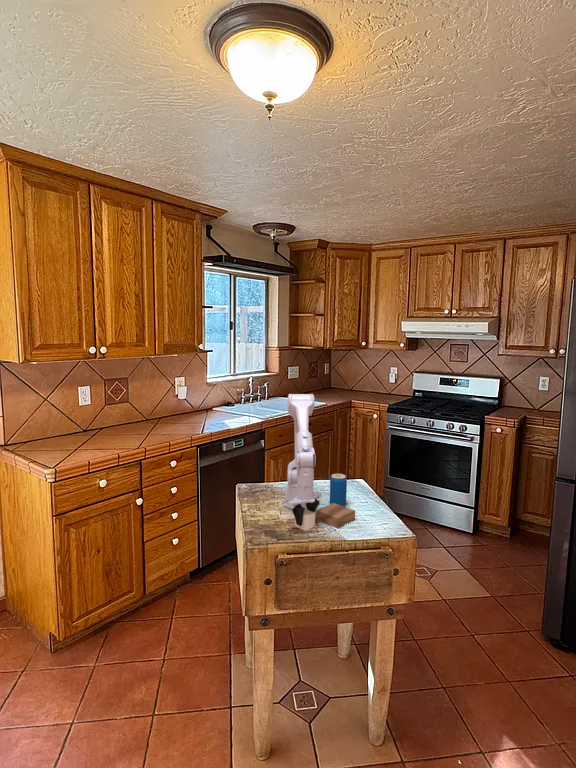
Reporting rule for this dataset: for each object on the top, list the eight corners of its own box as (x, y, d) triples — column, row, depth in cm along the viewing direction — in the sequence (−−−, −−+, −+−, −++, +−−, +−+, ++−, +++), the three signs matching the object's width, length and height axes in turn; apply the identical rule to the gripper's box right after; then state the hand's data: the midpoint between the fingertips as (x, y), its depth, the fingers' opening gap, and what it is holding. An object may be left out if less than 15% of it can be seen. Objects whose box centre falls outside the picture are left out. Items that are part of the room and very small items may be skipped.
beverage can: (344, 502, 180) (345, 473, 179) (347, 508, 174) (348, 478, 172) (328, 502, 180) (329, 473, 179) (330, 508, 174) (331, 478, 172)
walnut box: (316, 520, 164) (316, 510, 163) (333, 513, 171) (333, 502, 170) (337, 529, 157) (338, 518, 156) (354, 521, 164) (355, 510, 163)
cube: (294, 526, 158) (294, 512, 158) (304, 522, 162) (304, 508, 161) (304, 530, 155) (305, 516, 154) (314, 526, 158) (314, 512, 158)
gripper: (298, 493, 149) (298, 532, 150) (327, 482, 159) (326, 519, 160) (283, 487, 154) (283, 525, 155) (312, 478, 164) (312, 514, 165)
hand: (304, 522), depth 158 cm, fingers closed on cube, 5 cm apart
